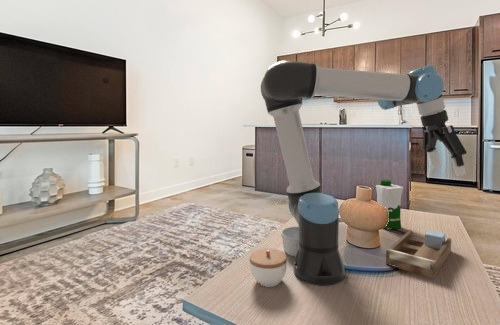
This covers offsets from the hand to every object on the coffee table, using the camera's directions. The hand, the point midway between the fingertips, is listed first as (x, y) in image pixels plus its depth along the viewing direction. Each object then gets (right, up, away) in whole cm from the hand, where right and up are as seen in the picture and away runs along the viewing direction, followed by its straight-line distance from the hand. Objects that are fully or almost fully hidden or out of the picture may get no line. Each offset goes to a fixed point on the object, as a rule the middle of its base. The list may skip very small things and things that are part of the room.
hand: (448, 171), depth 98 cm
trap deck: (-12, -28, -4) cm, 31 cm away
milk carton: (-8, -25, +26) cm, 37 cm away
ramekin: (-50, -29, +5) cm, 58 cm away
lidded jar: (-63, -32, -15) cm, 72 cm away
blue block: (-5, -25, 0) cm, 26 cm away
